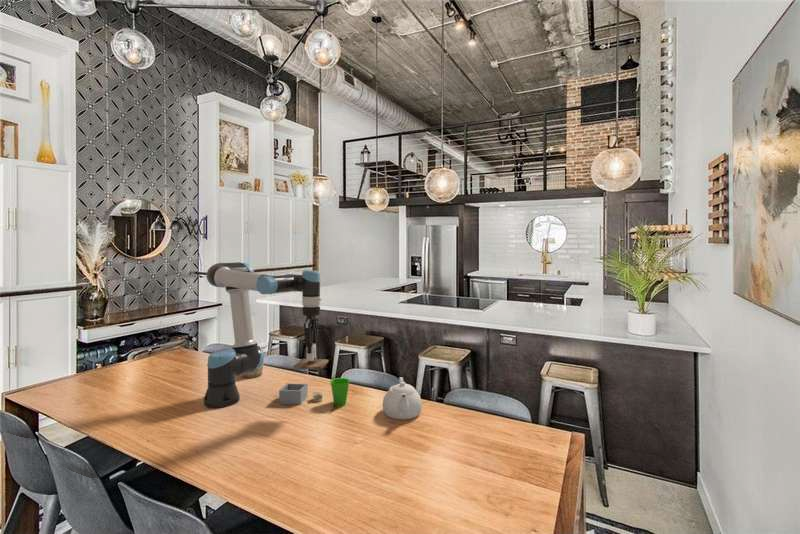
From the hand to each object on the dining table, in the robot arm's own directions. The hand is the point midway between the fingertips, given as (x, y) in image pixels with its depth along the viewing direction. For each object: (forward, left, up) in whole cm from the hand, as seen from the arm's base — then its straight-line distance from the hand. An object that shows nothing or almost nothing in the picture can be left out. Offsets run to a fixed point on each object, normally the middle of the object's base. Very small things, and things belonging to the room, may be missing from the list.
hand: (311, 359), depth 174 cm
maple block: (0, +10, -23) cm, 25 cm away
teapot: (+40, +2, -23) cm, 46 cm away
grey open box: (-11, +9, -23) cm, 27 cm away
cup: (+11, +8, -23) cm, 27 cm away
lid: (0, 0, -3) cm, 3 cm away
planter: (-48, +46, -23) cm, 71 cm away
